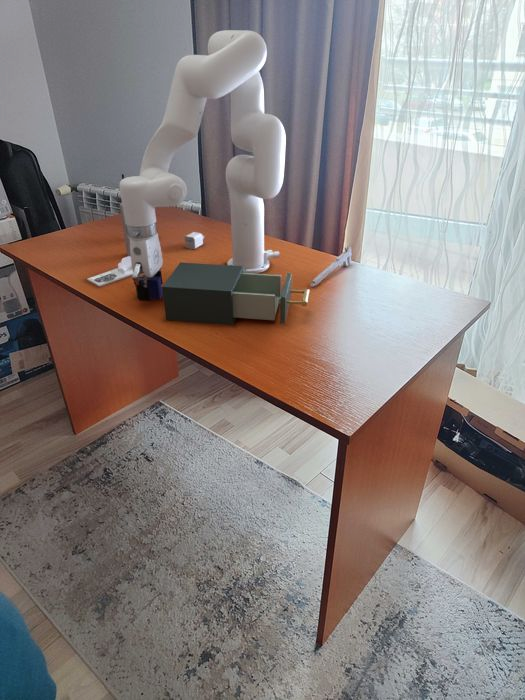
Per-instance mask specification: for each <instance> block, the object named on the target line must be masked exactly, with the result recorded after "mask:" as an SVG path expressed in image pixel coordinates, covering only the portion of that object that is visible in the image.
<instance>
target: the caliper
mask: <svg viewBox="0 0 525 700" xmlns="http://www.w3.org/2000/svg"><path fill="white" fill-rule="evenodd" d="M352 256H353V253H352V248H351V246H350V245H347V246H346V247H344V251H343V252H342V253H340V255H338V256H337V257H336V258H335V260H334V261H333V262H332V263H331V264H330V265H329V266H327V267H326V268H325V269H323V271H321V272H320V273H319V274H318V275H317V276H316V277H315V278H314V279H313V280H311V283H310V284H309V286H310V287H316V286H318V285H319V284H320V283H321V282H322V280H324V279H325V278H326V277H327V276H329V275H330V274H331V273H332V272H333V271H334V270H335V269H336V268H341V266H342V265H343V266H344V267H347V268H348V265H351V264H352Z"/></svg>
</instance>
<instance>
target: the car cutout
mask: <svg viewBox="0 0 525 700" xmlns="http://www.w3.org/2000/svg"><path fill="white" fill-rule="evenodd" d="M132 275H133V269H132V263H131V257H130V256H127V255H126V256H125V257H122V258H121V261H120V262H118V264H117V268H114V269H110V270H108V271H105V272H102V273H99V274H97V275H93V276H89V277H88V278H86V281H87V282H90V283H92V284H93V285H95V286H97V287H98V288H101V287H103V286H106V285H109V284H111V283H115V282H117V281H120V280H122V279H125V278H128V277H132Z"/></svg>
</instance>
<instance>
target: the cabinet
mask: <svg viewBox="0 0 525 700" xmlns="http://www.w3.org/2000/svg"><path fill="white" fill-rule="evenodd" d="M241 273H244V270H243V266H232V265H227V264H213V263H198V262H197V263H196V262H179V263H178V265H177V266H176V267H175V268H174V270H173V271H172V273H171V274H170V275H169V277H168V278H167V279H166V280H165V281H164V282H163V284H162V285H161V286H162V294H163V296H162V299H163V308H164V316H165V320H166V321H173V322H174V321H175V322H189V323H200V324H201V323H202V324H203V323H204V324H213V325H214V324H215V325H226V326H227V325H229V326H233V325H234V323H235V320H236V318H235V317H233V300H232V292H233V290H234V288H235V286H236V284H237V282H238V280H239V278H240V275H241Z"/></svg>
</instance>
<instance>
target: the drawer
mask: <svg viewBox="0 0 525 700" xmlns="http://www.w3.org/2000/svg"><path fill="white" fill-rule="evenodd" d="M292 284H293V274H292V273H291V272H287V273H286V276H285V279H284V282H283V286H282V274H270V273H269V274H268V273H256V274H255V273H241V275H240V278H239V280H238V282H237V284H236V286H235V288H234V290H233V292H232V300H233V317H235V319H237V318H238V319H250V320H266V321H275V320H276V317H277V313H278V309H279V324H280V325H285V324H286V321H287V317H288V313H289V309H290V306H291V305H301V306H302V307H307V306H308V303H309V297H310V291H311V290H310V289H308V288H305V289H292ZM292 294H303V295H302V299H301V300H292Z"/></svg>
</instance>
